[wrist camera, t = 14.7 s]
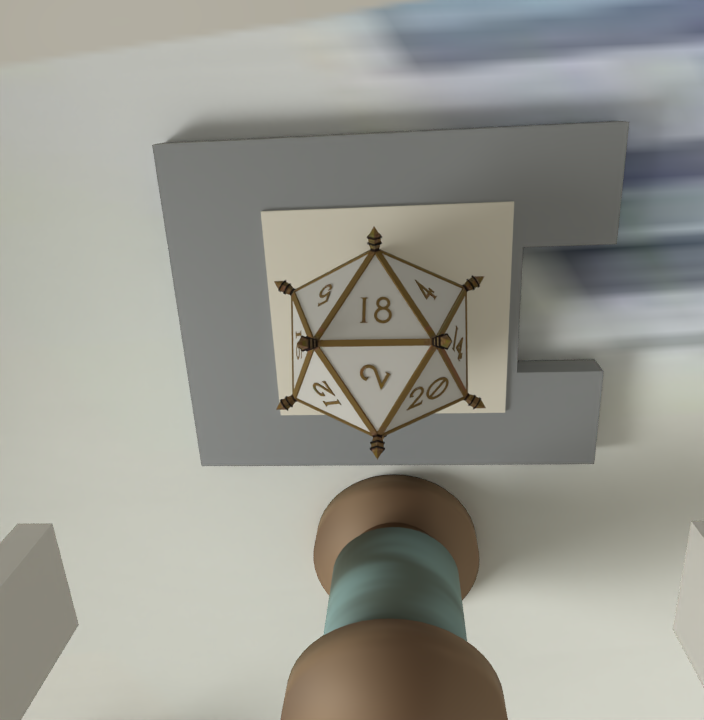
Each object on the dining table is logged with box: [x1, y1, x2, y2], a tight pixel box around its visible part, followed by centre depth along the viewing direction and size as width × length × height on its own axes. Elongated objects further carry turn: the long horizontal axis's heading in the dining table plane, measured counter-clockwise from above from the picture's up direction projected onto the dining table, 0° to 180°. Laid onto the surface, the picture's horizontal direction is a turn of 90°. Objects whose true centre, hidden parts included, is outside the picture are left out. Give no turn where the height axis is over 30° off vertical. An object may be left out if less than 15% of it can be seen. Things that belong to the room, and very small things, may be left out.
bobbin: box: [281, 475, 508, 720], centre depth 31 cm, size 9×9×12 cm
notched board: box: [152, 121, 629, 466], centre depth 31 cm, size 20×16×2 cm
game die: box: [274, 226, 486, 460], centre depth 26 cm, size 9×8×10 cm
